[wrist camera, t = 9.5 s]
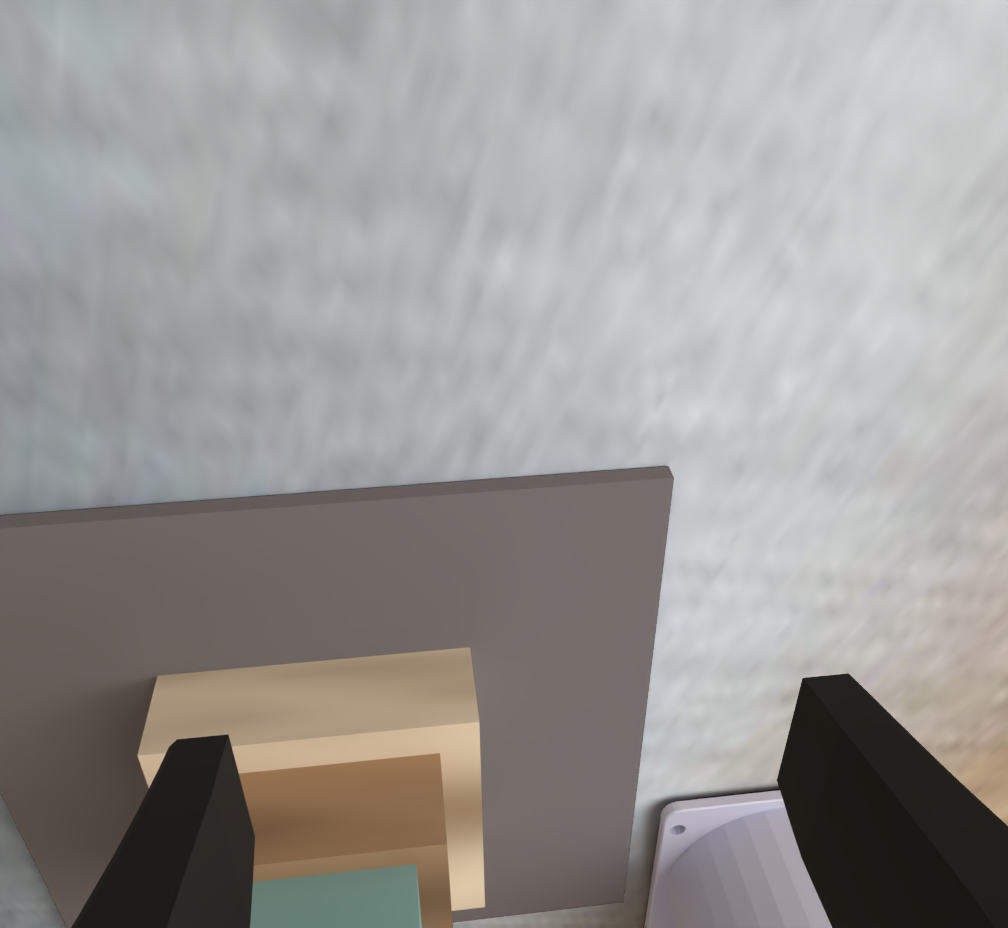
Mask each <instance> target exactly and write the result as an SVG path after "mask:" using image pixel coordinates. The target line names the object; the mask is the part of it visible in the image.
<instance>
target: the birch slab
mask: <svg viewBox="0 0 1008 928" xmlns="http://www.w3.org/2000/svg"><path fill="white" fill-rule="evenodd" d="M227 734H229V738H230V742H231V746H232V750H233V754H234V757H235V761H236V765H237V769H238V773H239V774H240V773H250V772H260V771H270V770H279V769H289V768H299V767H309V766H319V765H328V764H338V763H348V762H358V761H368V760H377V759H387V758H397V757H407V756H417V755H426V754H436V753H440V759H441V772H442V784H443V797H444V810H445V823H446V836H447V850H448V864H449V879H450V894H451V909H452V911H456V910H465V909H473V908H481V907H485V889H484V856H483V823H482V790H481V757H480V724H479V714H478V706H477V698H476V690H475V682H474V674H473V666H472V658H471V650H470V647H467V648H456V649H445V650H434V651H423V652H412V653H401V654H390V655H379V656H369V657H358V658H347V659H336V660H325V661H314V662H303V663H292V664H281V665H270V666H259V667H248V668H237V669H226V670H215V671H204V672H193V673H182V674H171V675H160V676H157V680H156V684H155V688H154V692H153V696H152V700H151V704H150V708H149V712H148V716H147V720H146V724H145V728H144V731H143V735H142V739H141V743H140V747H139V751H138V755H137V756H138V759H139V762H140V765H141V767H142V770H143V773H144V776H145V779H146V782H147V785H148V787H150V785H151V783H152V781H153V779H154V777H155V775H156V773H157V771H158V769H159V767H160V765H161V763H162V761H163V759H164V757H165V754H166V752H167V750H168V748H169V746H170V745H171V744H173V743H174V742H175V741H176V740H177V739H186V738H196V737H206V736H217V735H227Z"/></svg>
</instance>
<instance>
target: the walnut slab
mask: <svg viewBox="0 0 1008 928" xmlns="http://www.w3.org/2000/svg"><path fill="white" fill-rule="evenodd" d="M239 777H240V781H241V784H242V788H243V792H244V796H245V800H246V804H247V807H248V811H249V815H250V819H251V823H252V827H253V830H254V834H255V850H254V871H253V882H257V881H266V880H276V879H285V878H294V877H303V876H312V875H321V874H331V873H340V872H349V871H358V870H367V869H376V868H385V867H395V866H404V865H413V864H416V865H417V876H418V888H419V899H420V910H421V921H422V928H453V924H452V909H451V894H450V879H449V864H448V850H447V836H446V823H445V810H444V797H443V784H442V772H441V759H440V753H436V754H426V755H417V756H407V757H397V758H387V759H377V760H368V761H358V762H348V763H338V764H328V765H319V766H309V767H299V768H289V769H279V770H270V771H260V772H250V773H240V774H239Z"/></svg>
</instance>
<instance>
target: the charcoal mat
mask: <svg viewBox="0 0 1008 928" xmlns="http://www.w3.org/2000/svg"><path fill="white" fill-rule="evenodd" d="M673 481H674V477H673V475H672V473H671V471H670V469H669V467H668V466H662V467H649V468H635V469H622V470H608V471H595V472H581V473H568V474H554V475H541V476H527V477H514V478H500V479H487V480H473V481H460V482H446V483H433V484H419V485H406V486H392V487H379V488H365V489H352V490H338V491H325V492H311V493H298V494H284V495H271V496H257V497H243V498H230V499H216V500H203V501H189V502H176V503H162V504H149V505H135V506H122V507H108V508H95V509H81V510H68V511H54V512H41V513H27V514H14V515H0V793H1V795H2V797H3V799H4V801H5V803H6V805H7V807H8V809H9V812H10V814H11V816H12V818H13V820H14V822H15V824H16V826H17V828H18V830H19V832H20V834H21V836H22V838H23V840H24V842H25V844H26V846H27V848H28V850H29V852H30V854H31V856H32V858H33V860H34V862H35V864H36V866H37V868H38V870H39V872H40V874H41V876H42V878H43V880H44V882H45V884H46V886H47V888H48V890H49V892H50V894H51V896H52V898H53V900H54V902H55V904H56V906H57V908H58V910H59V912H60V914H61V916H62V918H63V920H64V922H65V925H66V927H67V928H71V927H72V925H73V924H74V922H75V920H76V919H77V917H78V916H79V914H80V912H81V910H82V909H83V907H84V905H85V904H86V902H87V900H88V898H89V897H90V895H91V893H92V891H93V890H94V888H95V886H96V885H97V883H98V881H99V879H100V878H101V876H102V874H103V873H104V871H105V869H106V867H107V866H108V864H109V862H110V860H111V859H112V857H113V855H114V853H115V852H116V850H117V848H118V846H119V844H120V843H121V841H122V839H123V837H124V835H125V833H126V831H127V830H128V828H129V826H130V824H131V822H132V820H133V819H134V817H135V815H136V813H137V811H138V809H139V807H140V805H141V803H142V801H143V799H144V797H145V795H146V793H147V791H148V789H149V787H148V785H147V782H146V779H145V776H144V773H143V770H142V767H141V765H140V762H139V759H138V756H137V755H138V751H139V747H140V743H141V739H142V735H143V731H144V728H145V724H146V720H147V716H148V712H149V708H150V704H151V700H152V696H153V692H154V688H155V684H156V680H157V676H160V675H171V674H182V673H193V672H204V671H215V670H226V669H237V668H248V667H259V666H270V665H281V664H292V663H303V662H314V661H325V660H336V659H347V658H358V657H369V656H379V655H390V654H401V653H412V652H423V651H434V650H445V649H456V648H467V647H470V650H471V658H472V666H473V674H474V682H475V690H476V698H477V706H478V714H479V724H480V757H481V790H482V823H483V856H484V889H485V907H481V908H473V909H465V910H456V911H452V923H453V922H461V921H469V920H478V919H486V918H494V917H503V916H511V915H520V914H528V913H536V912H545V911H553V910H561V909H570V908H578V907H586V906H595V905H603V904H611V903H620V902H623V901H624V892H625V884H626V875H627V867H628V859H629V850H630V842H631V833H632V825H633V817H634V808H635V800H636V791H637V783H638V775H639V766H640V758H641V749H642V741H643V733H644V724H645V716H646V708H647V699H648V691H649V682H650V674H651V666H652V657H653V649H654V640H655V632H656V624H657V615H658V607H659V598H660V590H661V582H662V573H663V565H664V556H665V548H666V540H667V531H668V523H669V514H670V506H671V498H672V489H673Z"/></svg>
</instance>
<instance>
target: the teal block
mask: <svg viewBox="0 0 1008 928" xmlns="http://www.w3.org/2000/svg"><path fill="white" fill-rule="evenodd" d="M250 928H422V921H421V910H420V899H419V888H418V876H417V865H416V864H413V865H404V866H395V867H385V868H376V869H367V870H358V871H349V872H340V873H331V874H321V875H312V876H303V877H294V878H285V879H276V880H266V881H257V882H253V889H252V905H251V921H250Z"/></svg>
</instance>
